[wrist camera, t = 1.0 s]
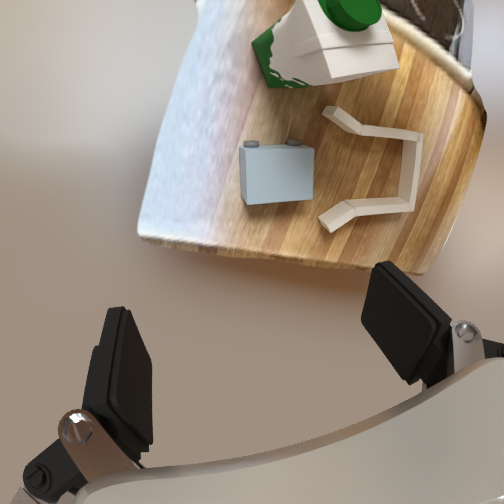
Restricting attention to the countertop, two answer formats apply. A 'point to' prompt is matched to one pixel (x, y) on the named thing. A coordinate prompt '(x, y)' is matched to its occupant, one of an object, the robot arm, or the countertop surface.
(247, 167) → the grey boxy piece
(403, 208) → the bay
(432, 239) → the countertop surface
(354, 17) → the milk carton
